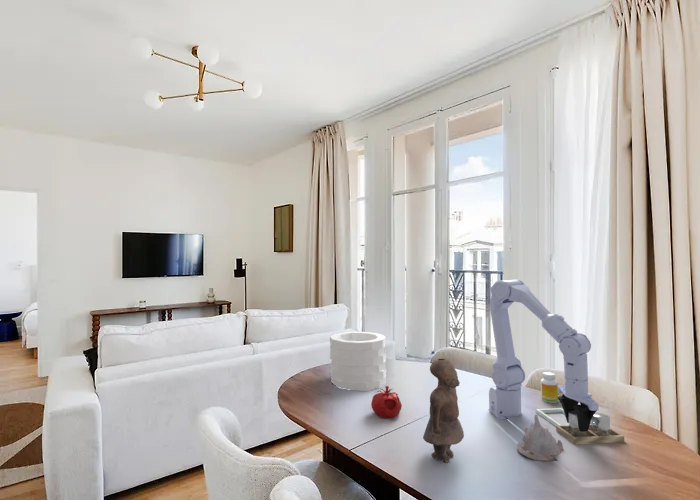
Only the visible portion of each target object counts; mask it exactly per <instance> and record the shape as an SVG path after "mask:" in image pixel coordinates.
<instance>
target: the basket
mask: <svg viewBox="0 0 700 500" xmlns="http://www.w3.org/2000/svg"><path fill="white" fill-rule="evenodd" d="M329 345H330V348H329V349H330V352H329V357H330V358H329V359H330V360H331V362H330V368H329V369H330V371H329V372H330V373H329V374H330V379H331V381H330V382H332V383H334V384H335V385H337V386H338V387H341V388H346V389H350V390H368V391H370V390H369V389H373V390H375V389H374V388H377V389H380V388H381V387H380V386H382V385H383V384H385V383H386V384H387V362H386V361H387V351H386V345H387V337H386V336H385V335H384V334H383V333H377V332H372V331H371V332H370V331H345V332H344V331H343V332H338V333H334V334H332V335H330V336H329ZM386 384H385V385H386ZM383 386H384V385H383ZM383 386H382V387H383ZM379 387H380V388H379Z"/></svg>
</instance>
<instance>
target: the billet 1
mask: <svg viewBox="0 0 700 500" xmlns="http://www.w3.org/2000/svg"><path fill="white" fill-rule="evenodd" d="M568 425H569V433H570V434H571V435H573V436H576V437H588V431H585V432H581V431H579V427H578V419H577V415H576V412H575V411H569V423H568Z"/></svg>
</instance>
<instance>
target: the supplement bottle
mask: <svg viewBox="0 0 700 500" xmlns="http://www.w3.org/2000/svg"><path fill="white" fill-rule="evenodd" d="M557 385H558V381H557V379H556V373H553V372H550V371H544V372H542V378H541V380H540V399H541V400H542V401H543V402H546V403H552V404H553V403H554V404H555V403H558V402H559V400H558V396H559V392H557Z"/></svg>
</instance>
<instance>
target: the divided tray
mask: <svg viewBox="0 0 700 500" xmlns="http://www.w3.org/2000/svg"><path fill="white" fill-rule="evenodd" d="M555 431H556V432H557V433H558V434H560V435H561V436H562V437H564V438H565V439H566V440H568V441H569V442H571V443H572V444H573V445H587V444H589V445H590V444H606V443H607V444H609V443H611V444H612V443H624V442H625V435H623V433H622V434H621V433H620V432H618V431H616V430H614V429H613V428H611V427H610V434H611V436H598V435H596V434H595V433H593V432H591V424H590V426H589V429H588V437H576V436H573V435H571V434H570V433H569V424H561V425H559V426H555Z"/></svg>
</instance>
